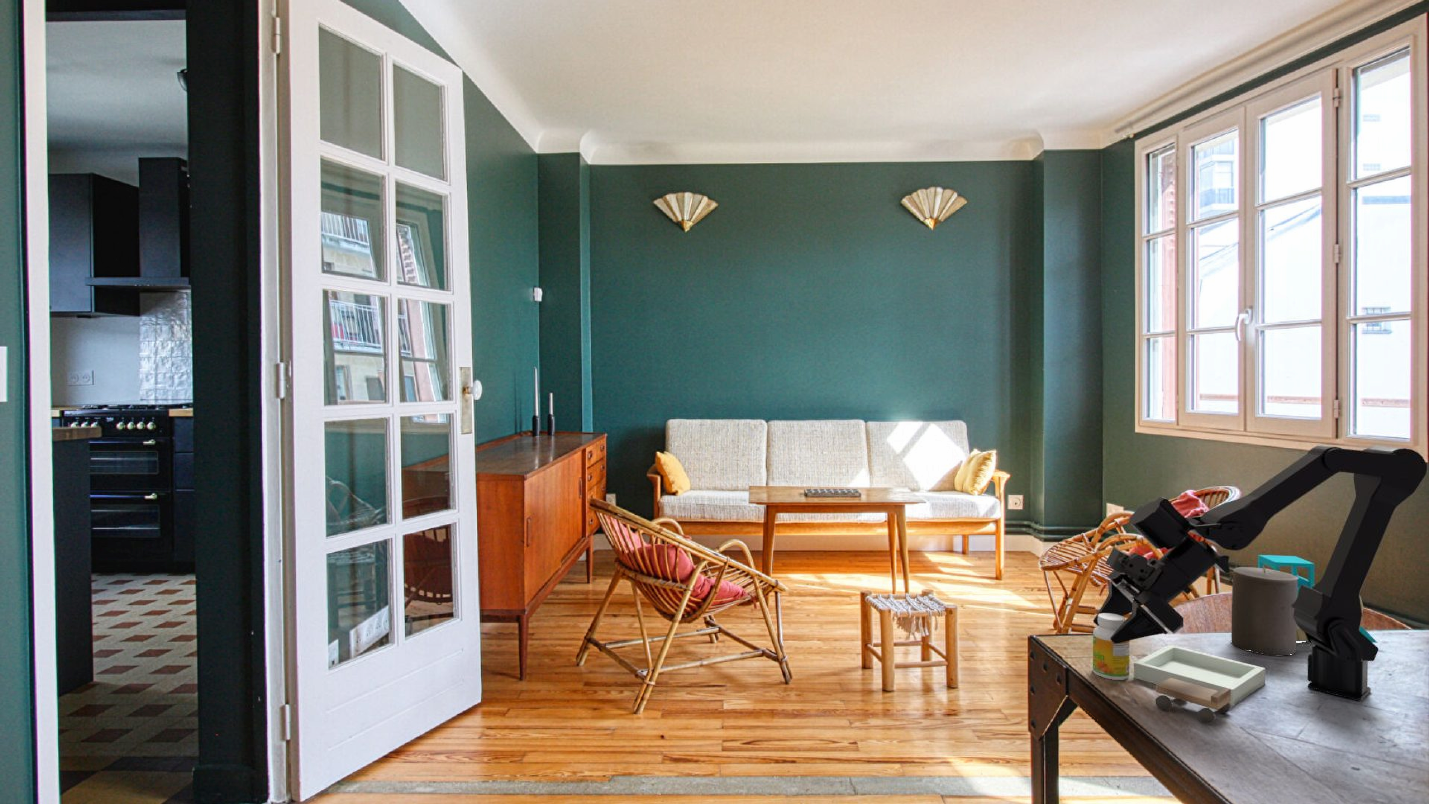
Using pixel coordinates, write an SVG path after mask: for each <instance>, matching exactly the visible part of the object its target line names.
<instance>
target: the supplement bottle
mask: <svg viewBox="0 0 1429 804" xmlns="http://www.w3.org/2000/svg"><path fill="white" fill-rule="evenodd" d="M1125 620H1126V617H1124V616H1121V615H1117V614H1112V613H1101V614H1098V624H1099V626H1096V627H1095V628H1093V631H1092V671H1093V674H1095V675H1096V676H1098V677H1100V676H1101V677H1100V678H1104V679H1107V680H1111V679H1112V680H1111V681H1123V680H1127V679H1128V678H1129V677H1130V655H1131V654H1130V650H1131V649H1130V641H1131V640H1130V641H1126V642H1122V643H1118V644H1115V643H1113V642H1112V641H1111V639H1110V638H1111V636H1112V635H1113V634H1114V633H1115V631H1116V630H1117V629H1118V628H1119V627H1120V626H1121V625H1122V624H1123V623H1124V621H1125Z"/></svg>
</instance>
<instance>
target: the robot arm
mask: <svg viewBox="0 0 1429 804" xmlns="http://www.w3.org/2000/svg"><path fill="white" fill-rule="evenodd" d="M1428 470H1429V465H1428V462H1426V460H1425V458H1424V456H1422V455H1421V454H1420V453H1419V452H1418V451H1416V450H1414V449H1411V448H1404V447H1396V446H1387V445H1372V446H1370V447H1367V448H1364V449H1363V450H1360V449H1359V450H1358V449H1350V448H1341V447H1338V446H1331V445H1324V444H1322V445H1316V446H1314V447H1312V448H1310V449H1309V451H1308V452H1307V453H1306V454H1304V455H1303V456H1302V457H1300V458H1299V459H1297V460H1296V461H1295V462H1294V463H1291V464H1290V465H1289V466H1288V467H1286V468H1284V469H1283V470H1282V471H1280V472H1278V473H1277V474H1276V475H1274V476H1273V477H1271V478H1270V479H1268V480H1267V481H1265V482H1264V483H1263V484H1261V485H1260V486H1258V487H1257V488H1255V489H1254V490H1252V491H1251V492H1250V493H1248V494H1247V495H1244V496H1242V497H1240V498H1237V499H1234V500H1230V501H1227V502H1224V503H1222V504H1220V505H1217V506H1215V507H1213V508H1211V509H1209V510H1207V511H1205V512H1204V513H1203V514H1202V515H1197V516H1188V517H1185V516H1184V515H1183V514H1182V513H1180V511H1178V509H1177V508H1175V507H1174V505H1173V503H1171V501H1170V500H1168V499H1167V498H1166V497H1163V496H1159V497H1157V499H1156V500H1153V501H1151V502H1148V503H1146V504H1145V505H1143V506H1140V507H1139V508H1137V509H1136V510H1135V511H1134V512H1133V513H1132V515H1130V517H1129V520H1128V523H1129V524H1130V525H1131V527H1132V528H1134V529H1135V530H1136V531H1137V532H1138V533H1139V534H1140V535H1141V536H1142V537H1143V538H1144V539H1146V541H1147V542H1148V543H1149V544H1150V545H1151V546H1152V547H1153V548H1155V549H1157V550H1161V549H1165V550H1168V551H1167V552H1166V553H1164V554H1163V555H1162V556H1161V557H1160V558H1158V559H1157V558H1156V557H1150V558H1149V559H1148V558H1147V557H1145V556H1143V555H1141V554H1138V553H1137V552H1132V553H1131V554H1129V553H1127V552H1125V551H1122V550H1121V549H1118V548H1116V547H1112V549H1111V551H1110V554H1109V555H1108V557H1107V559H1106V561H1105V563H1104V564H1105V565H1106V566H1109V568H1110V569H1112V570H1113V571H1111V572H1110V573H1109V574H1107V576H1106V577H1107V578H1108V579H1107V581H1106V584H1107V586H1108V595H1107V596H1106V599H1105V600H1104V602H1103V604H1102V606H1101V607H1100V609H1099V610H1098V612H1097V613H1096V615H1095V617H1094V619H1093V620H1092V622H1093V623H1094V625H1096V627H1098V626H1099V624H1098V614H1101V613H1112V614H1117V615H1121V616H1123V617H1124V616H1126V615H1129V614H1130V615H1129V616H1128V617H1127V618H1125V621H1124V623H1123V624H1122V625H1121V626H1120V627H1119V628H1118V629H1117V630H1116V631H1115V633H1114V634H1113V635H1112V636H1111V638H1110V639H1111V641H1112V642H1113V643H1115V644H1118V643H1122V642H1126V641H1134V640H1138V639H1142V638H1147V637H1150V636H1151V637H1152V636H1157V635H1162V634H1164V635H1167V634H1168V633H1169V632H1170V633H1172V634H1173V635H1175V634H1176V633H1177V632H1179V630H1181V629H1182V628H1183V627H1184V617H1183V616H1182V615H1181V614H1180V613H1179V612H1178V611H1177V610H1176V609H1175V608H1174V607H1173V606H1172V605H1171V604H1170V603H1171V602H1172V601H1174V600H1175V599H1176V598H1178V597H1179V596H1180V595H1181V594H1182V593H1185V594H1186V595H1189V594H1191V592H1193V589H1191V588H1190V586H1192V584H1194V583H1195V582H1196V581H1197V580H1198V579H1200V578H1201V577H1202V576H1204V575H1205V574H1206V573H1207V572H1208V571H1209V570H1210V569H1213V567H1215V569H1217V570H1219V571H1221V572H1223V573H1225V574H1229V573H1230V572H1231V569H1230V564H1229V560H1230V556H1229V555H1227V554H1226V553H1223V552H1219V553H1218V552H1217V550H1215V548H1213V547H1212V546H1211V545H1210V544H1209V543H1211V544H1214V545H1216V546H1219V548H1222V549H1225V550H1226V551H1227V550H1228V551H1235V552H1237V551H1238V552H1239V551H1242V550H1244V549H1245V548H1247V547H1248V546H1250V545H1251V544H1252V543H1253V541H1255V540H1256V539H1257V538H1258V537H1259V535H1261V534H1262V533H1263V532H1264V530H1265V527H1266V526H1267V525H1268V522H1269V521H1270V520H1271V519H1272V518H1273V517H1274V516H1276V515H1277V514H1278V513H1280V512H1281V511H1283V510H1285V509H1286V508H1288V507H1289V506H1290V505H1292V504H1293V503H1295V502H1296V501H1298V500H1299V499H1300V498H1301V499H1302V497H1303V496H1305V495H1307V494H1309V492H1311V491H1312V490H1314V489H1316V488H1317V487H1318V486H1320V485H1321V484H1323V483H1324V482H1325V481H1327V480H1329V479H1330V478H1331V477H1333V476H1335V475H1336V474H1338V473H1348V474H1353V484H1354V490H1355V499H1354V500H1353V504H1352V506H1351V508H1350V511H1349V513H1348V516H1347V518H1346V521H1345V522H1344V525H1343V527H1342V531H1341V533H1340V535H1339V537H1338V540H1337V542H1336V543H1335V547H1334V549H1333V551H1332V553H1331V556H1330V559H1329V561H1328V563H1327V565H1326V568H1325V570H1324V573H1323V574H1322V575H1323V576H1322V578H1321V580H1319V581H1318V582H1317V583H1316V584H1314V586H1313V587H1312V588H1309V587H1307V586H1305V585H1301V587H1300V588H1299V593H1298V597H1297V599H1296V601H1295V602H1294V603H1293V604H1292V605H1291V607H1292V608H1294V609H1295V610H1294V614H1293V618H1294V620H1295V622H1296V624H1297V626H1298V627H1299V628H1300V629H1301V630H1302V631H1304V632H1305V635H1306V637H1307V640H1308V641H1307V642H1310V643H1313V644H1314V645H1313V646H1312V647H1311V653H1310V654H1308V655H1307V678H1306V679H1307V681H1308V682H1309V683H1307V684H1308V685H1307V687H1308V689H1312V690H1316V691H1318V692H1319V691H1320V692H1323V693H1328V694H1332V695H1335V696H1340V697H1343V698H1347V699H1350V700H1354V701H1355V700H1356V701H1362V700H1363V699H1364V698H1365V697H1366V696H1367V695H1369V694H1370V693H1371V691H1372V689H1371V687H1370V686H1368V677H1369V675H1368V672H1369V671H1368V666H1369V664H1368V663H1369V662H1374V661H1375V659H1376V657H1377V654H1378V652H1379V647H1378V646H1377V645H1375V643H1374V642H1371V641H1370V640H1369V639H1368V638H1367V637H1365V636H1364V635H1363V634H1362V633H1361V632H1360V631H1359V630H1360V626H1362V620H1363V613H1362V608H1361V602H1360V597H1361V590H1362V588H1363V587H1364V583H1365V582H1366V579H1367V577H1368V575H1369V572H1370V571H1371V570H1370V569H1371V567H1372V565H1373V562H1374V560H1375V558H1376V556H1377V553H1378V551H1379V548H1380V547H1381V544H1382V541H1383V539H1384V537H1385V534H1386V531H1387V530H1388V527H1389V525H1390V522H1391V519H1392V518H1393V515H1394V513H1395V512H1396V509H1397V507H1398V506H1400V505H1401V504H1402V503H1404V502H1405V501H1406V500H1407V499H1409V498H1410V497H1411V496H1413V495H1414V494H1415V492H1416V491H1417V489H1418V488H1419V486H1420V485H1421V484H1422V482H1423V480H1425V478H1426V476H1427V474H1428ZM1189 533H1192V534H1193V535H1196V536H1198V537H1200V538H1203V539H1204V540H1199V541H1198V540H1196V539H1195V538H1194V536H1192V535H1191V534H1189ZM1205 540H1206V541H1205ZM1208 542H1209V543H1208ZM1168 631H1169V632H1168Z"/></svg>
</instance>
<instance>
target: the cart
mask: <svg viewBox="0 0 1429 804" xmlns="http://www.w3.org/2000/svg"><path fill="white" fill-rule="evenodd" d="M1155 686H1156V687H1155V692H1156V693H1157V694H1161V695H1159V696H1157V697H1155V703H1154V704H1155V705H1156V707H1157V708H1158V709H1159V710H1161V711H1164V712H1166V711H1169V710H1171V709H1172V707H1173V701H1172V700H1171V698H1175V700H1178V701H1181V702H1182V701H1185V702H1188V703H1191V704H1195V705H1198V706H1202V708H1200V709H1199V710H1198V711H1197V718H1198V719H1199V721H1200V722H1201V723H1203V724H1205V725H1211V724H1213V723H1214V722H1215V721H1216V718H1217V717H1216V714H1215V712H1214V711H1216V712H1219V714H1220V713H1221V714H1227V713H1228V712H1230V711H1231V708H1232V706H1231V704H1230V701H1231V689H1229V688H1225V687H1224V688H1222V689H1221V690H1219V691H1216V690H1213V689H1209V688H1206V687H1202V686H1198V685H1195V684H1191V683H1188V682H1184V681H1180V680H1177V679H1173V678H1169V679H1167V680H1165V681H1164V682H1162V683H1160V684H1158V685H1157V684H1155Z"/></svg>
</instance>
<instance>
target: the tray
mask: <svg viewBox="0 0 1429 804" xmlns="http://www.w3.org/2000/svg"><path fill="white" fill-rule="evenodd" d="M1133 678H1134V679H1137V680H1140V681H1144V682H1148V683H1151V684H1155V685H1158V684H1160V683H1162V682H1164V681H1165V680H1167V679H1169V678H1173V679H1177V680H1180V681H1184V682H1188V683H1191V684H1195V685H1198V686H1202V687H1206V688H1209V689H1213V690H1216V691H1219V690H1221V689H1222V688H1224V687H1225V688H1229V689H1231V701H1230V704H1231V707H1235V705H1237V704H1238V703H1239V702H1241V701H1242V700H1245V698H1247V697H1248V696H1249V695H1251V694H1252V693H1254V692H1255V691H1257V690H1258V689H1259V688H1262V686H1264V685H1265V684H1266V668H1265V667H1263V666H1258V665H1254V664H1251V663H1250V664H1249V663H1246V662H1242V661H1238V660H1234V659H1230V658H1226V657H1222V656H1217V655H1213V654H1209V653H1204V652H1201V651H1197V650H1193V649H1189V648H1184V647H1181V646H1176V645H1173V644H1168V645H1167V646H1164V647H1163V648H1160V649H1159V650H1157V651H1155V652H1152V653H1151V654H1149V655H1146V656H1144V657H1142V658H1141V659H1138V660H1137V661H1134V662H1133Z"/></svg>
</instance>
